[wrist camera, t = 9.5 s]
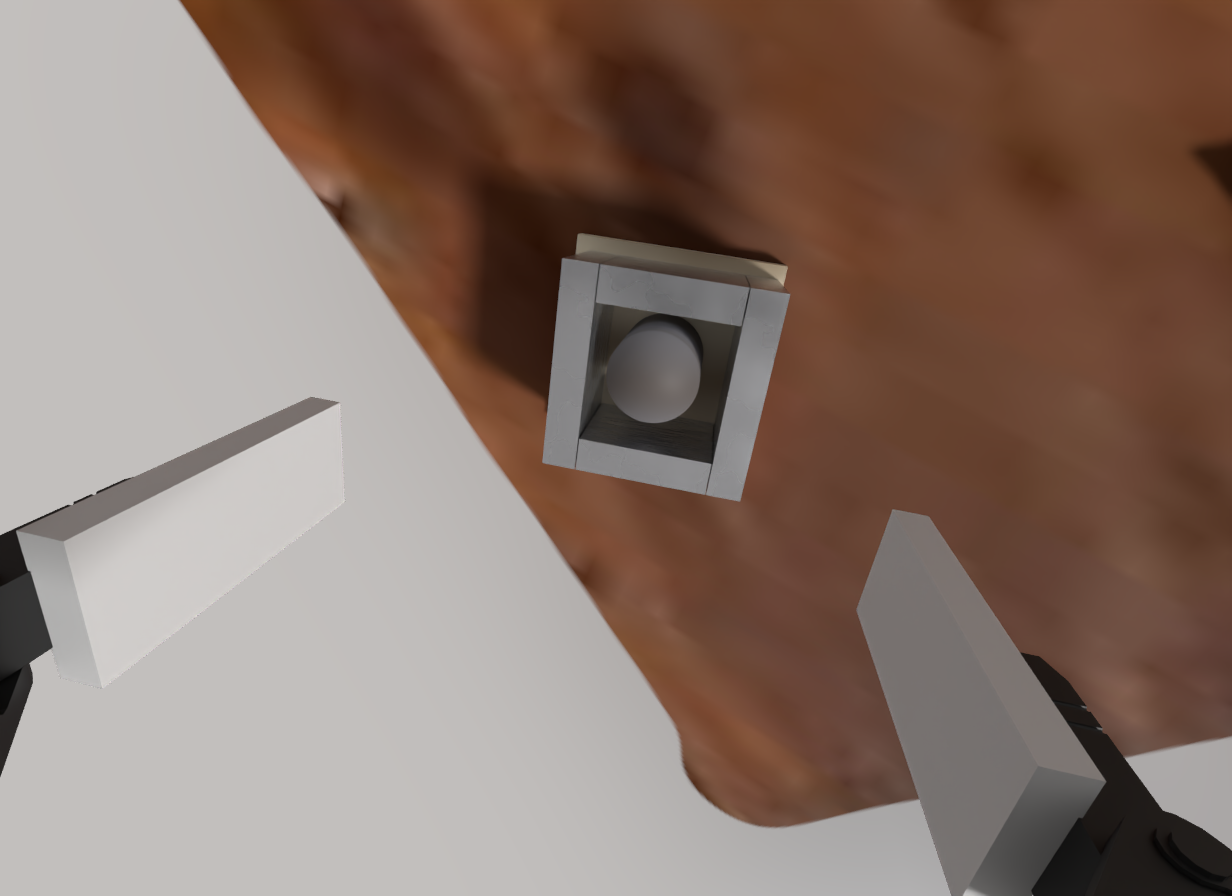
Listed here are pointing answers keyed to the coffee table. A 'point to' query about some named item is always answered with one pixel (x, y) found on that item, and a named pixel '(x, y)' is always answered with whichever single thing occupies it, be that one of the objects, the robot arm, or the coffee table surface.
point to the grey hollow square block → (679, 445)
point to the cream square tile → (669, 342)
